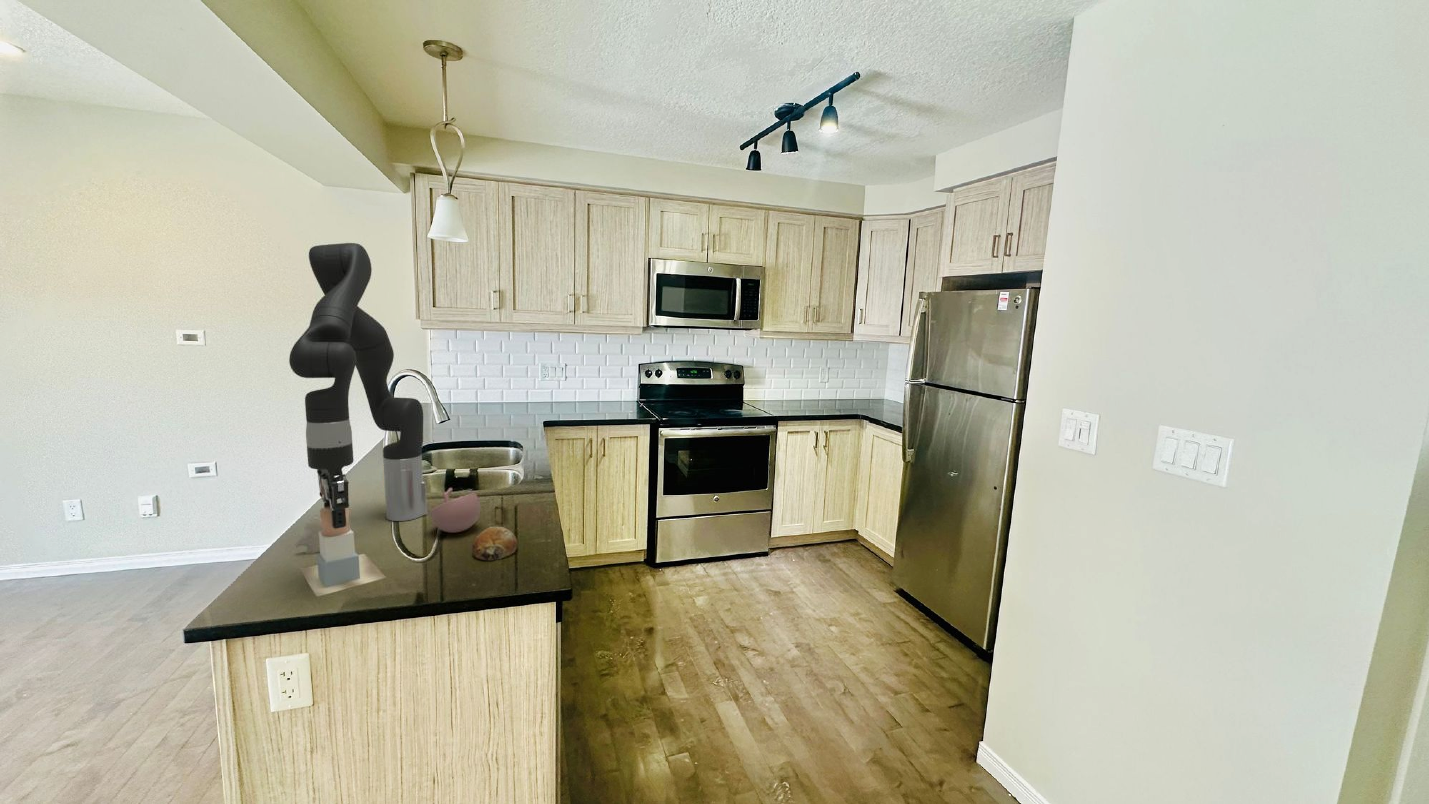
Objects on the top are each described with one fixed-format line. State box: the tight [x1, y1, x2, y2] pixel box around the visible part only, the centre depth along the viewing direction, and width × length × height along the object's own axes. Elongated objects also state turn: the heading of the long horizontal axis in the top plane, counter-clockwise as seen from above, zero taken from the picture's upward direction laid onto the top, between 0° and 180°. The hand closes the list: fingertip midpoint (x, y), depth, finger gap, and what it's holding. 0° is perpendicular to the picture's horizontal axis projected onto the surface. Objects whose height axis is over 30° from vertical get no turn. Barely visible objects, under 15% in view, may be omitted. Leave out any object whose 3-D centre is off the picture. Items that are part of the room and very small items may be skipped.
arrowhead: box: [294, 516, 321, 554], centre depth 127 cm, size 8×3×10 cm, turn 118°
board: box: [299, 553, 387, 598], centre depth 117 cm, size 12×16×2 cm
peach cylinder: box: [319, 506, 351, 537], centre depth 113 cm, size 5×5×5 cm
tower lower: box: [316, 551, 360, 588], centre depth 115 cm, size 6×6×5 cm
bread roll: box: [471, 526, 518, 561], centre depth 133 cm, size 10×10×8 cm
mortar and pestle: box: [429, 487, 481, 534], centre depth 145 cm, size 12×12×11 cm
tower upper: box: [319, 528, 356, 563], centre depth 114 cm, size 5×5×5 cm
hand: (335, 522), depth 113 cm, fingers open, 5 cm apart
